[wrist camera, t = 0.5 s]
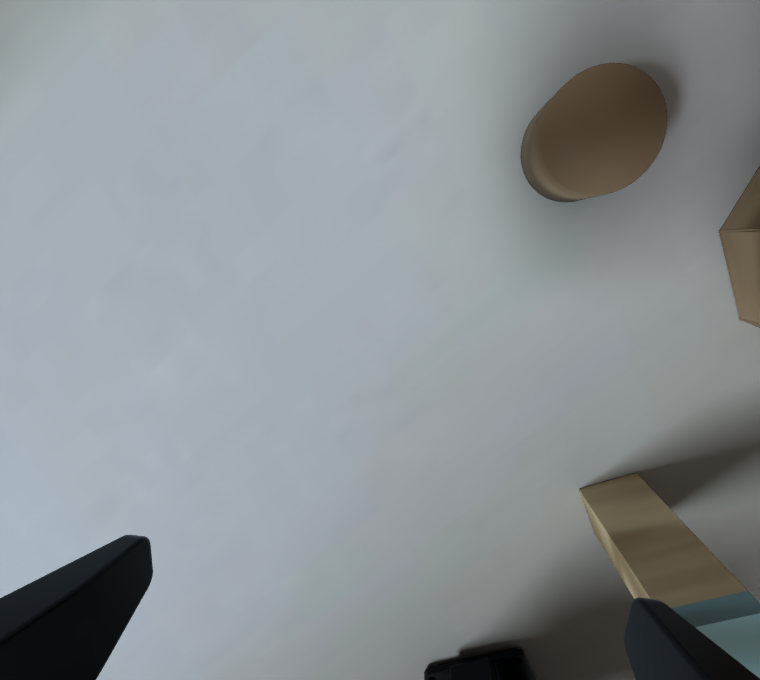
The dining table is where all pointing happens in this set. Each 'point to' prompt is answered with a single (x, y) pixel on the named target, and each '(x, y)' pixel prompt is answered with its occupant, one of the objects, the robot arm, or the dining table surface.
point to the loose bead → (595, 134)
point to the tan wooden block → (673, 565)
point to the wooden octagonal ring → (745, 251)
